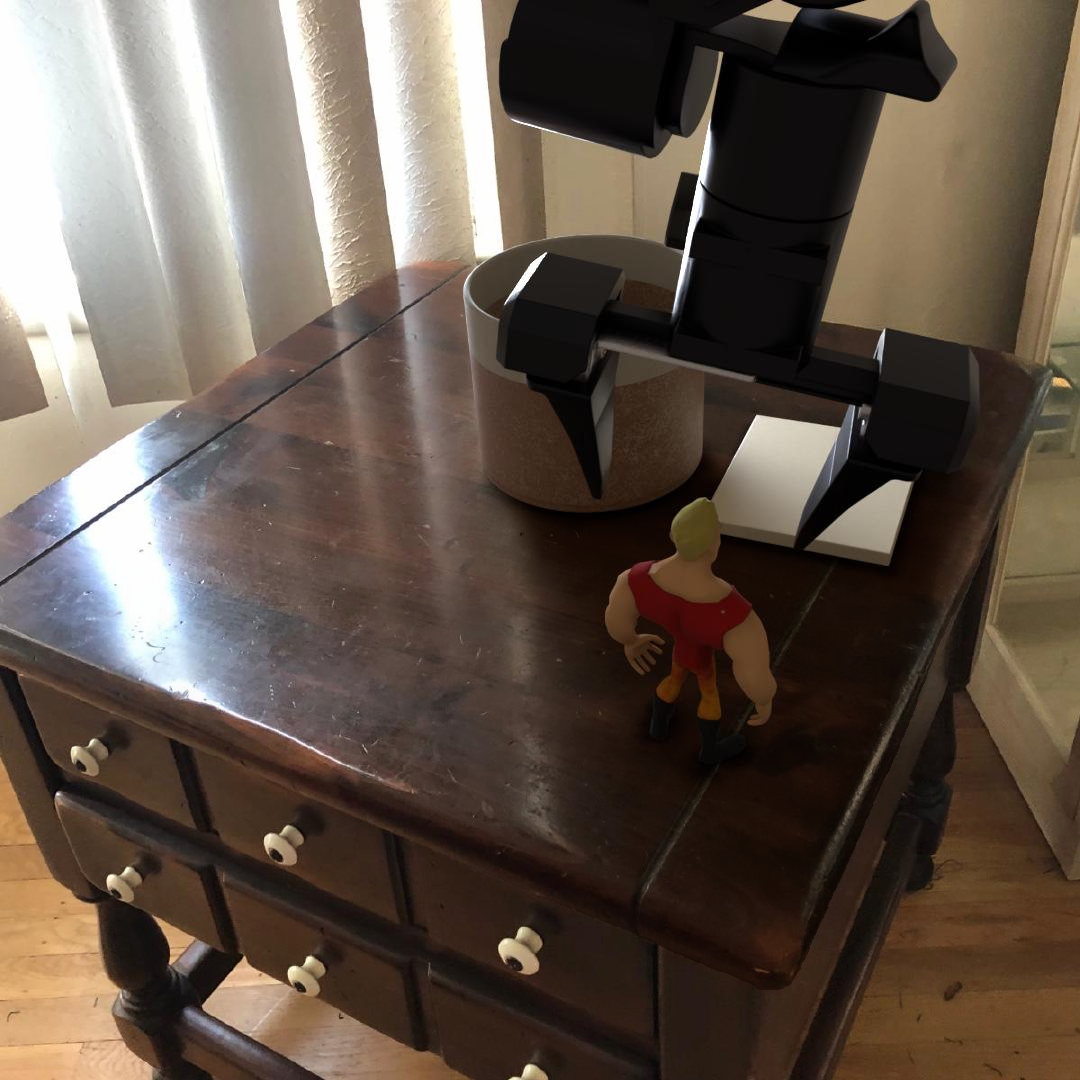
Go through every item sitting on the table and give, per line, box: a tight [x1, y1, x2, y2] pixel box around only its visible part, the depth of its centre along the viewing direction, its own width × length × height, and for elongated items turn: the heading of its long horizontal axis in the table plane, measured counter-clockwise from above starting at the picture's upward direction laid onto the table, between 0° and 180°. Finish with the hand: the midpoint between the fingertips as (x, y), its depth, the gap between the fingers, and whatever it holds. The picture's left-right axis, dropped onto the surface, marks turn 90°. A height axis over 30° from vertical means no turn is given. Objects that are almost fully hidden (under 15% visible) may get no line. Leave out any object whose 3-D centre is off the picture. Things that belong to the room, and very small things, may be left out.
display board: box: [710, 414, 915, 567], centre depth 78 cm, size 12×14×1 cm
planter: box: [463, 233, 706, 514], centre depth 79 cm, size 16×16×14 cm
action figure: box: [604, 497, 778, 765], centre depth 56 cm, size 10×4×15 cm, turn 52°
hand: (697, 518), depth 52 cm, fingers open, 9 cm apart
